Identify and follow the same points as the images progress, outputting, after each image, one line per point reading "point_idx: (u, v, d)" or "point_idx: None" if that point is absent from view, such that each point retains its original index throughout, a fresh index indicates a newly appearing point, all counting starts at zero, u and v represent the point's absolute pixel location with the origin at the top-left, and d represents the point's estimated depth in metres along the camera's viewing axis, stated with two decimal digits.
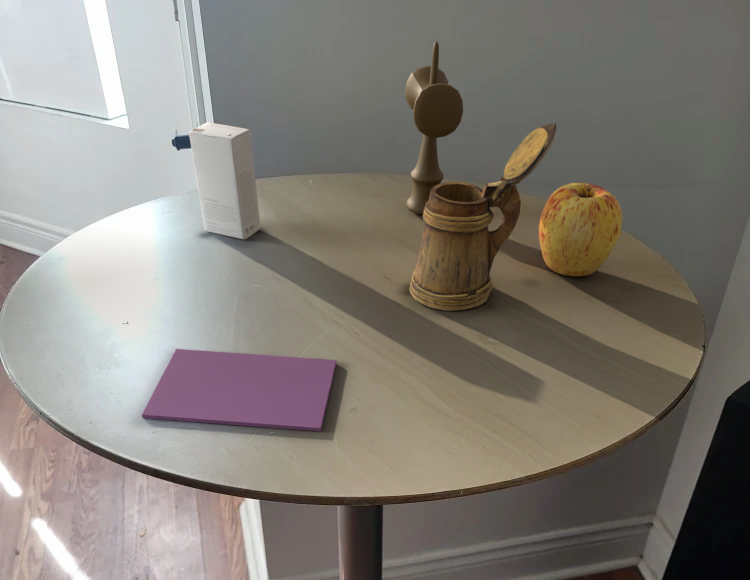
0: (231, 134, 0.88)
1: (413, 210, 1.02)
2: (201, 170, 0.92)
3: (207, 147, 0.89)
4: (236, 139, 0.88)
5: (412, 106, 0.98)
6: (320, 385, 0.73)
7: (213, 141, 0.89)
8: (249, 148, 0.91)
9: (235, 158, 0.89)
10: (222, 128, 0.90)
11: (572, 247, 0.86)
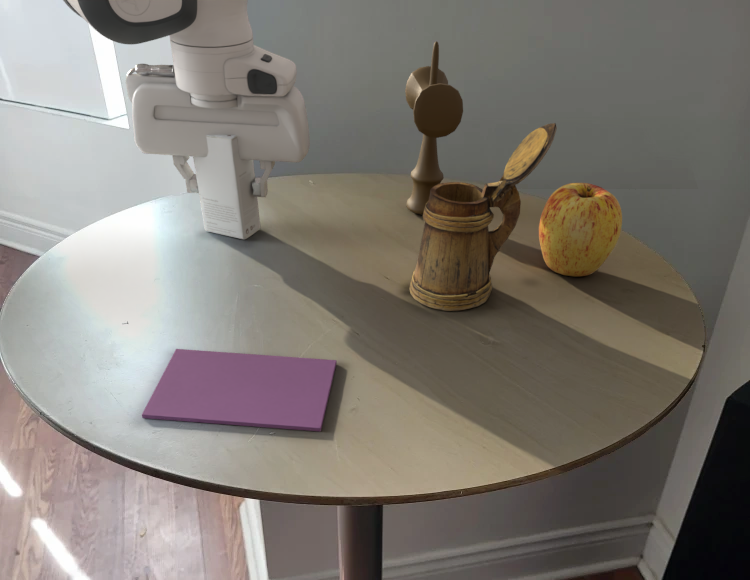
0: None
1: (413, 210, 1.02)
2: (201, 170, 0.92)
3: None
4: (236, 139, 0.88)
5: (412, 106, 0.98)
6: (320, 385, 0.73)
7: (213, 141, 0.89)
8: None
9: (235, 158, 0.89)
10: None
11: (572, 247, 0.86)
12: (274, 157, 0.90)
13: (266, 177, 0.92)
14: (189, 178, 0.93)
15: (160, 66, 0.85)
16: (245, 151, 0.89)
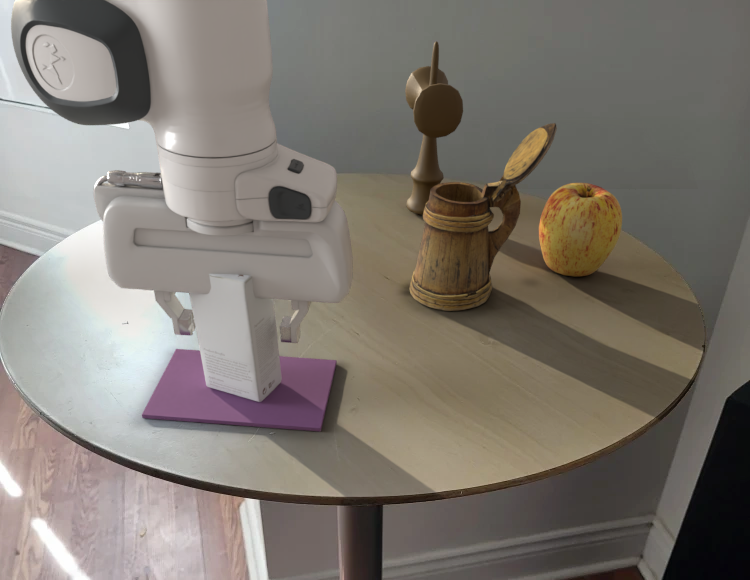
0: None
1: (413, 210, 1.02)
2: (202, 316, 0.66)
3: None
4: (251, 280, 0.63)
5: (412, 106, 0.98)
6: (320, 385, 0.73)
7: (219, 282, 0.63)
8: None
9: (250, 305, 0.64)
10: None
11: (572, 247, 0.86)
12: (304, 297, 0.64)
13: (300, 320, 0.66)
14: (177, 317, 0.67)
15: (142, 175, 0.59)
16: (263, 288, 0.63)
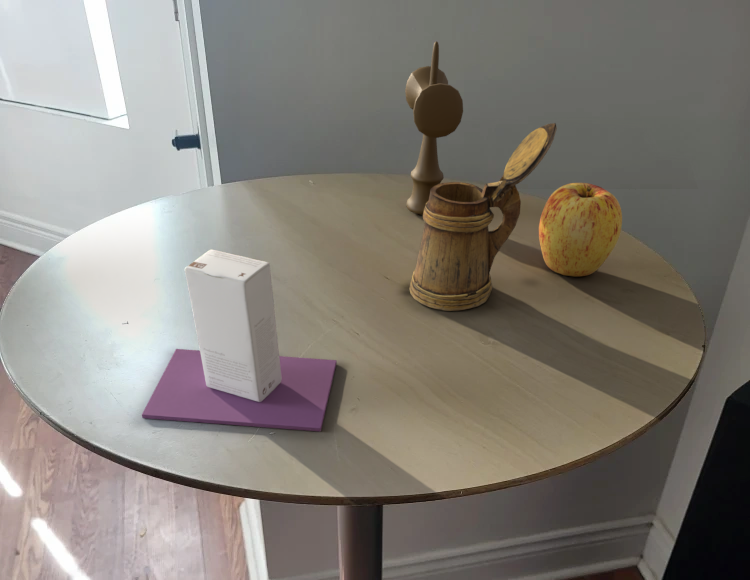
0: (244, 273, 0.63)
1: (413, 210, 1.02)
2: (202, 316, 0.66)
3: (210, 289, 0.64)
4: (251, 280, 0.63)
5: (412, 106, 0.98)
6: (320, 385, 0.73)
7: (219, 282, 0.63)
8: (268, 287, 0.66)
9: (250, 305, 0.64)
10: (231, 262, 0.64)
11: (572, 247, 0.86)
12: None
13: None
14: None
15: None
16: None
